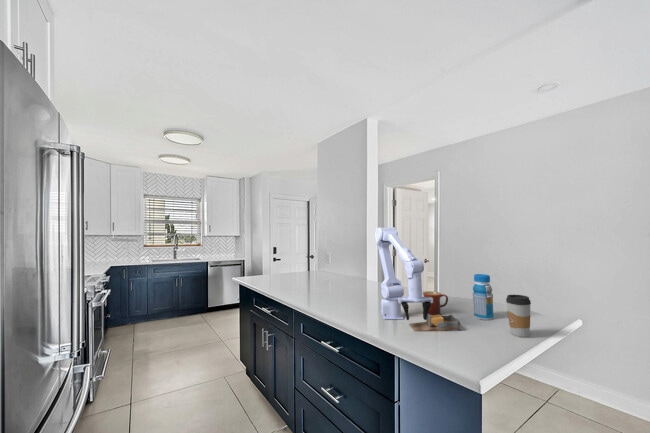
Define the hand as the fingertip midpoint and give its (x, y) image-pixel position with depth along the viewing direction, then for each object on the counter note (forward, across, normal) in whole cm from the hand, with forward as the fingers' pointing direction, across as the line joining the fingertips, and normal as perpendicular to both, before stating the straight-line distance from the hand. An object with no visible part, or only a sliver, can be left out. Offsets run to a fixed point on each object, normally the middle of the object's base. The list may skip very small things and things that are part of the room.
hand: (416, 319), depth 128 cm
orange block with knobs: (+3, +8, 0) cm, 9 cm away
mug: (+4, +15, +20) cm, 25 cm away
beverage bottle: (+4, +35, +13) cm, 37 cm away
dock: (+4, +7, 0) cm, 9 cm away
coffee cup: (+4, +38, -10) cm, 39 cm away
